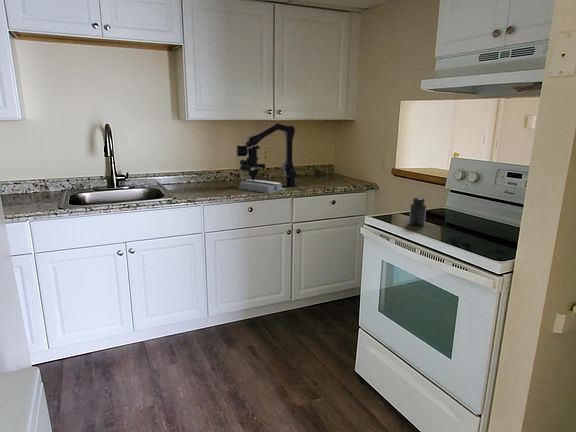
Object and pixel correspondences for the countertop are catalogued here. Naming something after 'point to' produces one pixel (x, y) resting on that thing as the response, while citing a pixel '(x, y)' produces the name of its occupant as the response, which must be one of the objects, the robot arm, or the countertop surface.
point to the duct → (261, 187)
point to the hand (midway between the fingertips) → (253, 180)
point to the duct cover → (262, 181)
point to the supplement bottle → (417, 212)
